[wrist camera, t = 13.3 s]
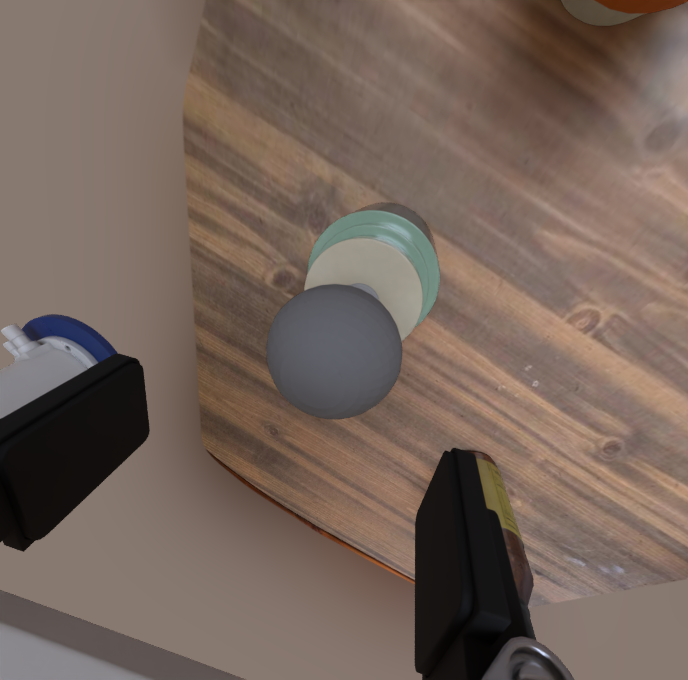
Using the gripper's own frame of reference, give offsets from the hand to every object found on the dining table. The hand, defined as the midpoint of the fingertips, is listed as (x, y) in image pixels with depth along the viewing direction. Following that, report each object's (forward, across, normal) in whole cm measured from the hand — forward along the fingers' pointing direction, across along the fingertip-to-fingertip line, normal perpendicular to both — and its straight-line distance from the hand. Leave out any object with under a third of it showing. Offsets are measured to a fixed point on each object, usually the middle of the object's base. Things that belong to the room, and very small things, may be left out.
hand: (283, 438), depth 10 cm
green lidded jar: (+26, -1, 0) cm, 26 cm away
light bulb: (+13, 0, 0) cm, 13 cm away
